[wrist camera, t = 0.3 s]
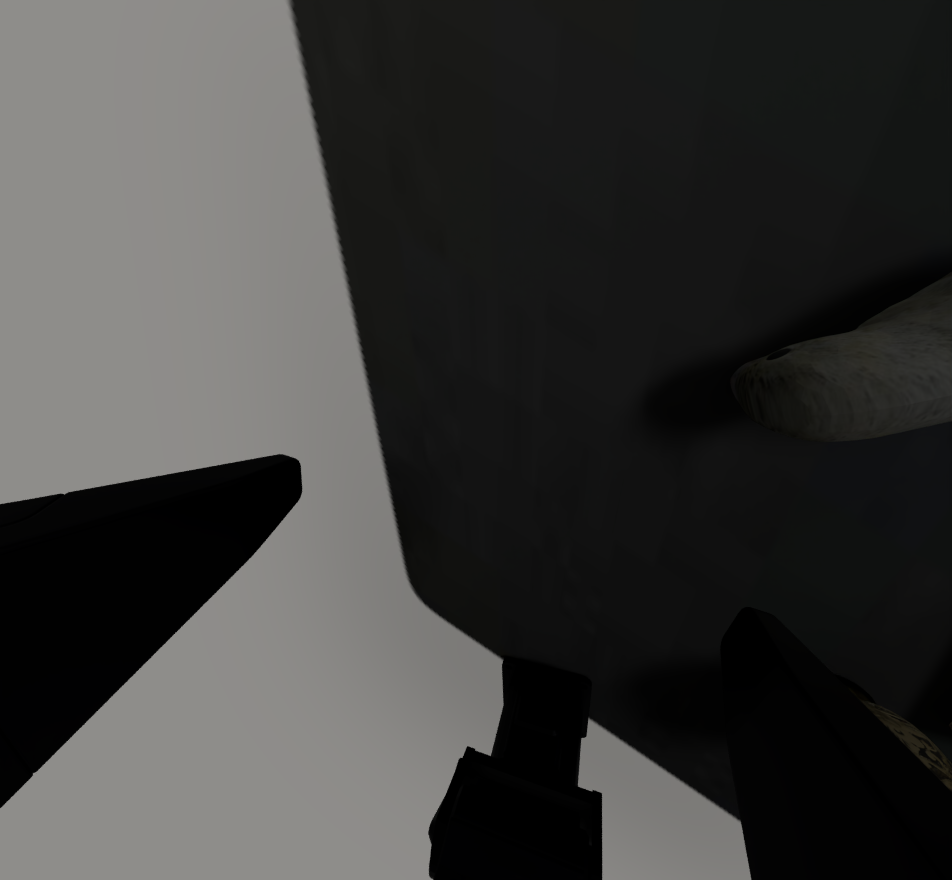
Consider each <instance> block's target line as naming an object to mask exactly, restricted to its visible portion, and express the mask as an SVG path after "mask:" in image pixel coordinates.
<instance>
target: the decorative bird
mask: <svg viewBox="0 0 952 880" xmlns="http://www.w3.org/2000/svg"><path fill="white" fill-rule="evenodd" d="M730 385H731V390H732V392H733V394H734V396H735V398H736V399H737V401H738V402H739V405H740V406H741V408H742V409H743V410H744V412H745V413H746V414H747V415H748V416H749V417H750V418H751V419H752V420H753V421H755V422H757V423H758V424H760V425H762V426H764V427H766V428H769V429H771V430H773V431H775V432H778V433H780V434H783V435H786V436H790V437H793V438H797V439H802V440H808V441H819V442H835V441H852V440H861V439H869V438H876V437H881V436H885V435H890V434H894V433H899V432H904V431H908V430H913V429H918V428H922V427H927V426H931V425H936V424H941V423H945V422H950V421H952V272H950V273H949V274H947V275H945V276H944V277H942V278H941V279H939V280H938V281H936V282H934V283H933V284H931V285H929V286H927V287H925V288H924V289H922V290H920V291H918V292H917V293H915V294H914V295H912V296H911V297H909V298H908V299H905V300H903V301H901V302H899V303H897V304H895V305H892V306H890V307H888V308H887V309H885V310H884V311H882V312H881V313H879V314H877V315H875V316H874V317H872V318H870V319H868V320H867V321H865V322H864V323H862V324H861V325H860V326H859V327H858V328H857V329H856V330H853V331H850V332H847V333H842V334H837V335H831V336H826V337H821V338H816V339H812V340H808V341H804V342H800V343H796V344H792V345H789V346H787V347H785V348H782V349H780V350H777V351H775V352H773V353H771V354H769V355H767V356H765V357H762V358H758V359H755V360H753V361H750V362H747V363H745V364H744V365H742V366H741V367H740V368H739V369H738V370H737V371H736V372H735V373H734V374H733V375H732V377H731V378H730Z"/></svg>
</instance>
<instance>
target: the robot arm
mask: <svg viewBox="0 0 952 880" xmlns="http://www.w3.org/2000/svg"><path fill="white" fill-rule="evenodd" d="M301 494H302V479H301V465H300V463H299V461H298V460H297V459H295V458H292V457H289V456H286V455H283V454H278V455H273V456H267V457H262V458H256V459H250V460H245V461H240V462H234V463H228V464H223V465H217V466H212V467H207V468H201V469H196V470H189V471H184V472H178V473H173V474H167V475H163V476H156V477H151V478H146V479H140V480H134V481H129V482H123V483H118V484H112V485H106V486H101V487H95V488H90V489H84V490H79V491H73V492H68V493H66V494H65V495H64V494H57V495H51V496H45V497H40V498H35V499H29V500H22V501H17V502H11V503H5V504H0V808H1V807H2V806H3V805H4V804H5V803H6V802H7V801H8V800H9V799H10V798H11V797H12V796H13V795H14V794H15V793H16V792H17V791H18V790H19V789H20V788H21V787H22V786H23V785H24V784H25V783H26V782H27V781H28V780H29V779H30V778H31V777H32V776H33V773H35V772H37V771H38V770H39V769H40V768H41V767H42V765H44V764H45V763H46V762H47V761H48V760H49V759H50V758H51V757H52V755H54V754H55V753H56V752H57V751H58V750H59V749H60V748H61V747H62V746H63V745H64V744H65V743H66V742H67V741H68V740H69V739H70V738H71V737H72V736H73V735H74V734H75V733H76V731H78V730H79V729H80V728H81V727H82V726H83V725H84V724H85V723H86V722H87V721H88V720H89V719H90V718H91V717H92V716H93V715H94V714H95V713H96V711H98V710H99V709H100V708H101V707H102V706H103V705H104V704H105V703H106V702H107V701H108V700H109V699H110V698H111V696H113V694H115V693H116V692H117V691H118V690H119V689H120V688H121V687H122V686H123V685H124V684H125V683H126V682H127V681H128V680H129V679H130V678H131V677H132V676H133V675H134V674H135V673H136V672H137V671H138V670H139V669H140V668H141V667H142V666H143V665H144V664H145V663H146V662H147V661H148V660H149V659H150V658H151V657H152V656H153V655H154V654H155V653H156V652H157V651H158V650H159V649H160V648H161V647H162V646H163V645H164V644H165V643H166V642H167V641H168V640H169V639H170V638H171V637H172V636H173V635H174V634H175V632H177V631H178V630H179V629H180V628H181V627H182V626H183V625H184V624H185V623H186V622H187V621H188V620H189V619H190V618H191V617H192V616H193V615H194V614H195V613H196V612H197V611H198V610H199V609H200V608H201V607H202V606H203V604H205V603H206V602H207V601H208V600H209V599H210V598H211V597H212V596H213V595H214V594H215V593H216V592H217V591H218V590H219V589H220V588H221V587H222V586H223V585H224V584H225V583H226V582H227V581H228V580H229V579H230V578H231V577H232V576H233V575H234V574H235V573H236V571H238V570H239V569H240V568H241V567H242V566H243V565H244V564H245V563H246V562H247V561H248V560H249V558H251V557H252V556H253V555H254V553H255V552H256V551H257V550H258V549H259V548H260V547H261V545H262V544H263V543H264V542H265V541H266V539H267V538H268V537H269V536H270V535H271V533H272V532H273V531H274V530H275V529H276V527H277V526H278V525H279V524H280V523H281V521H282V520H283V519H284V518H285V516H286V515H287V514H288V513H289V512H290V510H291V509H292V508H293V507H294V506H295V504H296V503H297V502H298V500H299V499H300V497H301ZM720 651H721V666H722V680H723V694H724V709H725V723H726V734H727V744H728V750H729V757H730V763H731V769H732V774H733V780H734V785H735V791H736V796H737V802H738V808H739V813H740V819H741V824H742V830H743V835H744V840H745V847H746V852H747V857H748V863H749V869H750V874H751V880H952V791H951V790H950V789H949V788H948V787H947V786H946V785H945V784H944V783H943V782H942V781H941V780H940V779H939V778H938V777H937V776H936V775H935V774H934V773H933V772H932V771H931V770H930V769H929V768H928V767H927V766H926V765H925V764H924V763H923V762H922V761H921V760H920V759H919V758H918V757H917V756H916V755H915V754H914V753H913V752H912V751H911V750H910V749H909V748H908V747H907V746H906V745H905V744H904V743H903V742H901V741H900V740H899V739H898V738H897V737H896V736H895V735H894V734H893V733H892V732H891V731H890V730H889V729H888V728H887V727H886V726H885V725H884V724H883V723H882V722H881V721H880V720H879V719H878V718H877V717H876V716H875V715H874V714H873V713H872V712H871V711H870V710H869V709H868V708H867V707H866V706H865V705H864V704H863V703H862V702H861V701H860V700H859V699H858V698H857V697H856V696H855V695H854V694H853V693H852V692H851V691H850V690H849V689H848V688H847V687H846V686H845V685H844V684H843V683H842V682H841V681H840V680H839V679H838V678H837V677H836V676H835V675H834V674H833V673H832V672H831V671H830V670H829V669H828V668H827V667H826V666H825V665H824V664H823V663H822V662H821V661H820V660H819V659H818V658H817V657H816V656H815V655H814V654H813V653H812V652H811V651H810V650H809V649H808V648H807V647H806V646H805V645H804V644H802V643H801V642H800V641H799V640H798V639H797V638H796V637H795V636H794V635H793V634H792V633H791V632H790V631H789V630H788V629H787V628H786V627H785V626H784V625H783V624H782V623H781V622H780V621H779V620H778V619H777V618H776V617H775V616H773V615H772V614H769V613H767V612H763V611H760V610H757V609H754V608H751V607H745V608H743V609H741V611H740V612H739V613H738V615H737V616H736V618H735V619H734V621H733V622H732V624H731V625H730V627H729V629H728V630H727V632H726V633H725V635H724V636H723V639H722V642H721V649H720ZM502 677H503V701H504V706H503V710H502V714H501V718H500V722H499V726H498V730H497V734H496V738H495V742H494V746H493V750H492V754H491V756H489V755H486V754H483V753H481V752H478V751H475V749H474V748H471V747H468V746H467V748H466V751H465V753H464V756H463V758H460V759H459V760H458V764H457V767H456V770H455V773H454V776H453V778H452V780H451V783H450V786H449V788H448V790H447V793H446V795H445V797H444V799H443V801H442V803H441V805H440V806H439V808H438V810H437V812H436V814H435V816H434V818H433V820H432V821H431V824H430V827H429V832H428V834H429V838H430V841H431V844H432V846H431V857H430V863H429V876H430V877H431V878H432V879H433V880H602V793H600V792H597V791H594V790H593V791H589V790H586V789H583V788H580V787H578V775H579V761H580V748H581V738H585V737H586V735H587V725H588V716H589V707H590V697H591V686H592V683H591V681H590V680H589V679H588V678H586V677H582V676H578V675H575V674H571V673H567V672H563V671H559V670H555V669H551V668H547V667H543V666H539V665H535V664H531V663H528V662H524V661H520V660H516V659H512V658H505V659H504V660H503V664H502Z"/></svg>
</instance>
